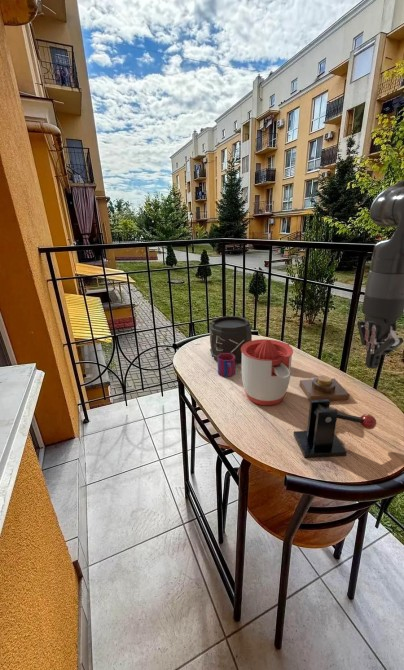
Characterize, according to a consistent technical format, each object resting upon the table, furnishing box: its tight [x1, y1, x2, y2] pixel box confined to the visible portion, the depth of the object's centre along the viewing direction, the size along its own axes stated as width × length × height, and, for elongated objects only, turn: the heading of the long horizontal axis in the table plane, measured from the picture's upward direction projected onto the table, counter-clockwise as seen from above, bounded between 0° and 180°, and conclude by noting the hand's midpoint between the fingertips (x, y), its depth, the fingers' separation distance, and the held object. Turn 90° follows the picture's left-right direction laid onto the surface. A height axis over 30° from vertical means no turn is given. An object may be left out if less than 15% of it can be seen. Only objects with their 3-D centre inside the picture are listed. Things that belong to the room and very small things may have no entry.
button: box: [317, 374, 332, 386], centre depth 91 cm, size 4×4×2 cm
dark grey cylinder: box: [208, 315, 253, 365], centre depth 118 cm, size 18×18×16 cm
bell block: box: [299, 376, 350, 402], centre depth 91 cm, size 12×10×4 cm
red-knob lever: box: [314, 404, 377, 430], centre depth 68 cm, size 15×4×4 cm, turn 91°
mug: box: [217, 353, 236, 378], centre depth 105 cm, size 7×10×7 cm
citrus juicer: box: [241, 338, 294, 406], centre depth 87 cm, size 16×17×20 cm
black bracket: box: [293, 399, 348, 459], centre depth 68 cm, size 10×8×12 cm
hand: (371, 366), depth 65 cm, fingers closed
